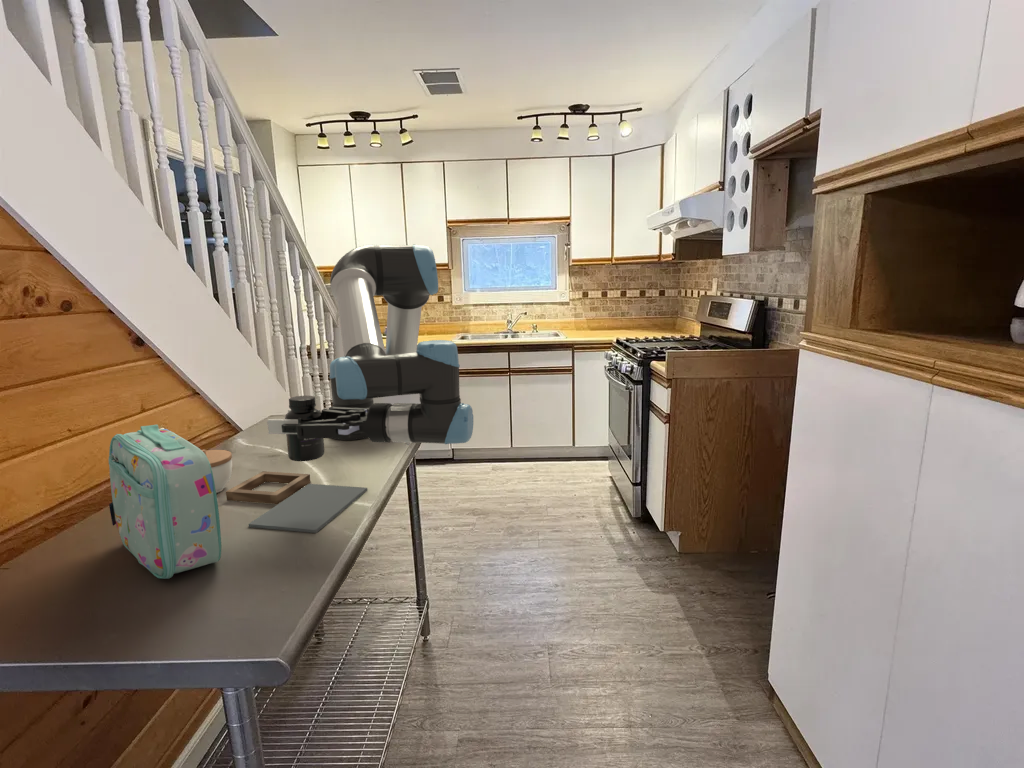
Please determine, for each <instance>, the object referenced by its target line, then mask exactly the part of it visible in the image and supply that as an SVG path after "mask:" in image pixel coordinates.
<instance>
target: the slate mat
mask: <svg viewBox="0 0 1024 768" xmlns="http://www.w3.org/2000/svg"><path fill="white" fill-rule="evenodd" d="M367 491H368V487H362V486H347V485H334V484H321V483H320V484H319V483H309V484H308V485H306V486H305V487H303V488H302V489H300V490H299V491H297V492H296V493H294V494H293V495H291V496H290V497H288V498H287V499H285V500H283V501H282V502H280V503H279V504H275V506H274V507H272V508H269V510H267V511H266V512H264V513H262V514H261V515H260V516H259V517H256V518H255V519H254V520H252V521H251V522H249V523H248V528H257V529H267V530H279V531H291V532H299V533H300V532H302V533H313V534H314V533H315V534H317V533H318V532H319V531H320V530H321V529H322V528H324V527H325V526H326V525H328V523H330V522H332V521H333V519H335V518H336V517H337V516H339V514H341V513H342V512H343V511H345V510H346V509H347V508H348V507H349V506H350V505H352V504H353V503H354V502H355V501H356V500H357V499H359V498H360V497H361V496H362V495H364V494H365V493H366V492H367Z"/></svg>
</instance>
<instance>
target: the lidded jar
mask: <svg viewBox="0 0 1024 768" xmlns="http://www.w3.org/2000/svg"><path fill="white" fill-rule="evenodd" d="M201 450H202V451H203V452H204V453H205V455H206V456H207V458H208V460H209V463H210V465H211V469H212V473H213V478H214V483H215V489H216V494H217V493H220V492H222V491H223V490H225V487H226V486H227V484H228V483H229V482H230V480H231V478H232V475H233V473H232V472H233V459H232V458H233V456H232V455H233V454H232V452H231V451H229V450H226V449H208V450H206V449H201ZM221 490H222V491H221Z"/></svg>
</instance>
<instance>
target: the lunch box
mask: <svg viewBox="0 0 1024 768" xmlns="http://www.w3.org/2000/svg"><path fill="white" fill-rule="evenodd" d="M202 450H203V449H201V448H200V447H198V446H196V445H194V444H193V443H191V442H190V441H188V440H187V439H185V438H183V437H182V436H180V435H179V434H176V433H175V432H173V431H171V430H169V429H167V428H159V425H158V424H151V425H141V426H140V429H139V430H137V431H132V432H126V433H124V434H122V433H116V434H115V435H114V436H113V437H111V440H110V444H109V452H108V453H109V454H108V465H109V479H110V480H109V481H110V489H111V490H110V491H111V498H112V499H111V500H112V502H110V503H109V504H108V506H109V507H108V508H109V513H110V518H111V524H112V526H115V525H116V528H117V531H118V533H119V536H120V539H121V542H122V544H123V546H124V547H125V549H127V550H128V551H129V552H130V553H131V554H132V555H133V556H134V557H135V558H136V560H137V561H138V564H140V565H142V566H143V567H144V568H145V569H147V570H148V571H149V572H150V573H151V574H152V575H153V576H154V577H156V578H157V579H165V580H166V579H168V580H169V579H170V578H172V577H173V576H174V574H179V573H183V572H186V571H190V570H193V569H196V568H200V567H203V566H206V565H209V564H214V563H217V562H219V561H220V559H221V557H222V537H221V536H222V534H221V520H220V512H219V511H220V510H219V503H218V497H217V493H216V489H215V483H214V478H213V473H212V469H211V465H210V463H209V460H208V458H207V456H206V455H205V453H204V452H203V451H202Z"/></svg>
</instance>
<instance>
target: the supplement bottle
mask: <svg viewBox="0 0 1024 768" xmlns="http://www.w3.org/2000/svg"><path fill="white" fill-rule="evenodd" d="M316 406H317V402H316V397H315V395H299V396H298V395H297V396H291V397H289V398H288V408H289V410H290V409H291V411H289V412H288V411H287V413H286V415H285V416H284V419H298V418H301V417H302V421H313V420H322V414H321V412H320V411H321V410H320V409H317V408H316ZM319 410H320V411H319ZM285 435H286V437H285V438H286V447H287V449H286V450H287V457H288V459H289V460H290V461H294V462H309V461H315V460H318V459H321V458H322V457H323V456H324V454H325V441H324V440H325V438H302V439H300V438H298V436H297V434H285Z"/></svg>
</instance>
